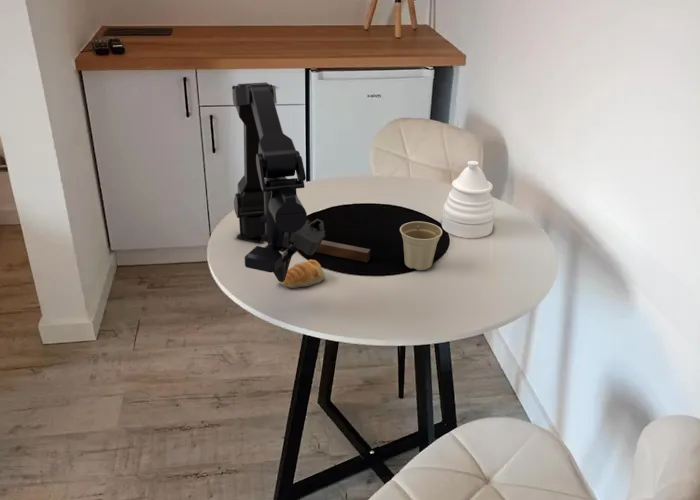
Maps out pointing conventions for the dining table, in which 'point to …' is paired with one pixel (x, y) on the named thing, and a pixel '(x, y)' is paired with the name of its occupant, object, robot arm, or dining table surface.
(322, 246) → the strip
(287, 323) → the dining table surface
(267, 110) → the robot arm
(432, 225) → the flower pot
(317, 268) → the pastry
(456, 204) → the honey pot
